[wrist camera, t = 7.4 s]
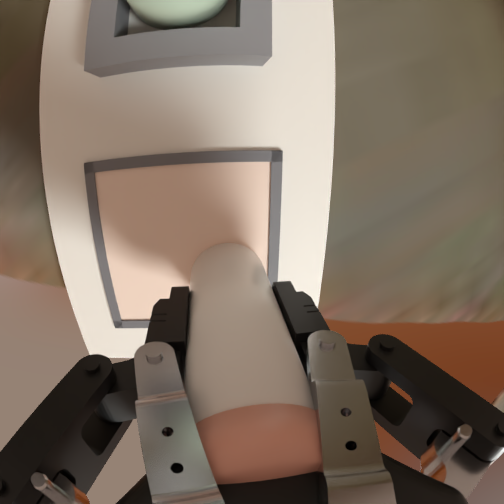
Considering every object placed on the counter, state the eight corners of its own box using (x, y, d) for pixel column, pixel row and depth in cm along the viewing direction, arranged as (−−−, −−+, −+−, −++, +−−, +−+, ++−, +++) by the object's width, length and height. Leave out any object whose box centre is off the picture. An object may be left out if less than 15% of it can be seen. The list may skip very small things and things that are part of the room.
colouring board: (319, -49, 9) (340, -74, 6) (306, 334, 19) (321, 368, 16) (69, -34, 7) (47, -56, 4) (95, 344, 17) (82, 378, 14)
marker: (266, 240, 14) (366, 443, 4) (263, 306, 15) (326, 499, 6) (187, 243, 13) (166, 470, 4) (193, 310, 15) (195, 516, 5)
